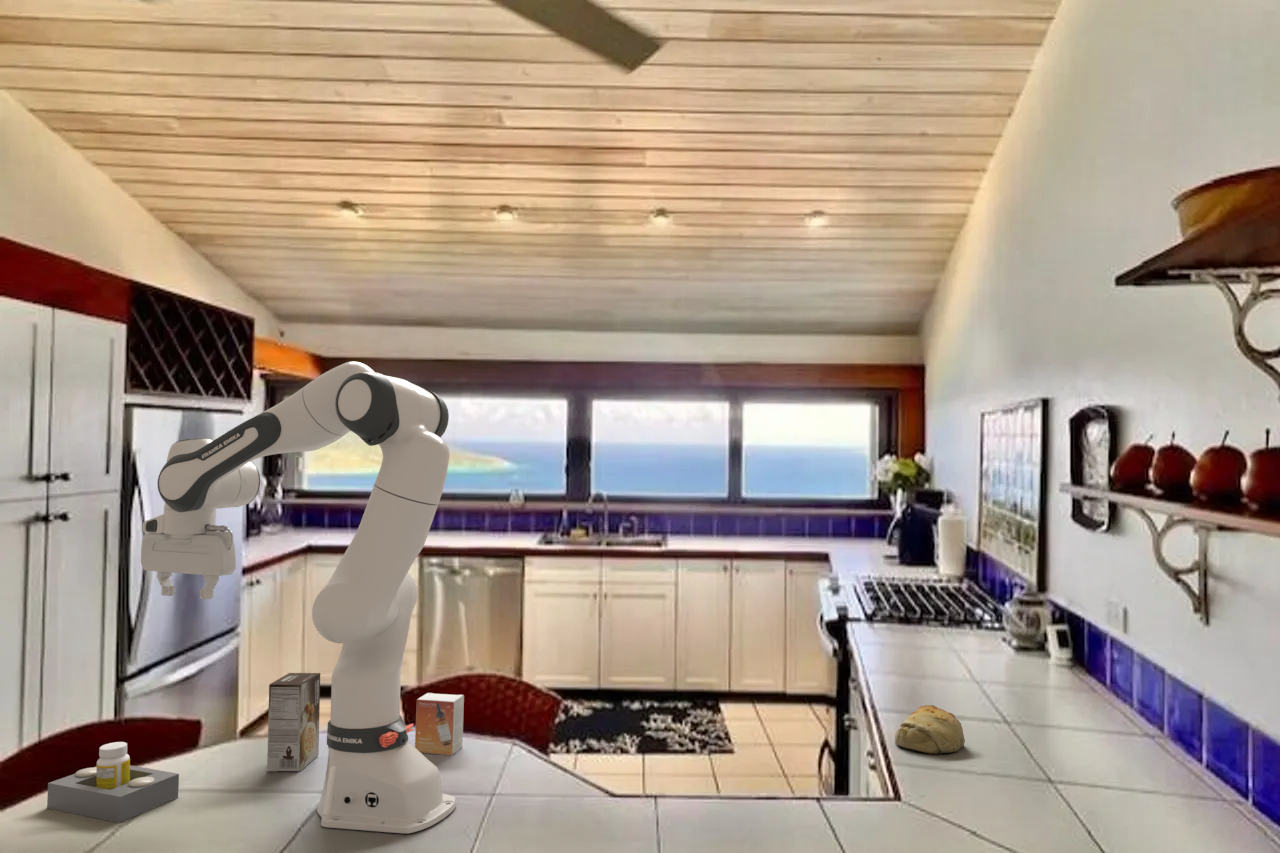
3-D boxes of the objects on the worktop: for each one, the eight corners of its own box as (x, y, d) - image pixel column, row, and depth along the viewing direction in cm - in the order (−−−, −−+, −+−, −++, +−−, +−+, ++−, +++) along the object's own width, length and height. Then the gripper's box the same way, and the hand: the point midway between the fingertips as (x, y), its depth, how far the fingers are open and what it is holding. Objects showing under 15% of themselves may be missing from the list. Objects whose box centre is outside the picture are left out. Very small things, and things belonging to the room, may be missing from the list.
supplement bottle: (123, 788, 148) (124, 738, 148) (134, 795, 144) (134, 744, 145) (91, 797, 144) (92, 746, 144) (101, 804, 141) (102, 752, 141)
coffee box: (286, 755, 168) (289, 671, 169) (319, 755, 168) (321, 672, 169) (265, 772, 159) (268, 683, 160) (300, 772, 159) (302, 684, 160)
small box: (414, 753, 171) (415, 699, 171) (425, 744, 176) (426, 691, 177) (452, 756, 169) (454, 701, 170) (463, 747, 175) (464, 694, 175)
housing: (178, 797, 146) (179, 771, 147) (119, 822, 136) (120, 794, 136) (108, 784, 152) (109, 759, 152) (47, 807, 142) (48, 780, 142)
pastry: (959, 739, 184) (959, 701, 185) (971, 759, 172) (971, 718, 172) (890, 735, 187) (890, 697, 187) (897, 754, 174) (897, 713, 175)
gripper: (245, 524, 164) (242, 598, 163) (163, 521, 171) (161, 591, 170) (219, 526, 158) (216, 603, 157) (135, 522, 165) (132, 596, 164)
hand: (186, 597), depth 164 cm, fingers open, 8 cm apart
